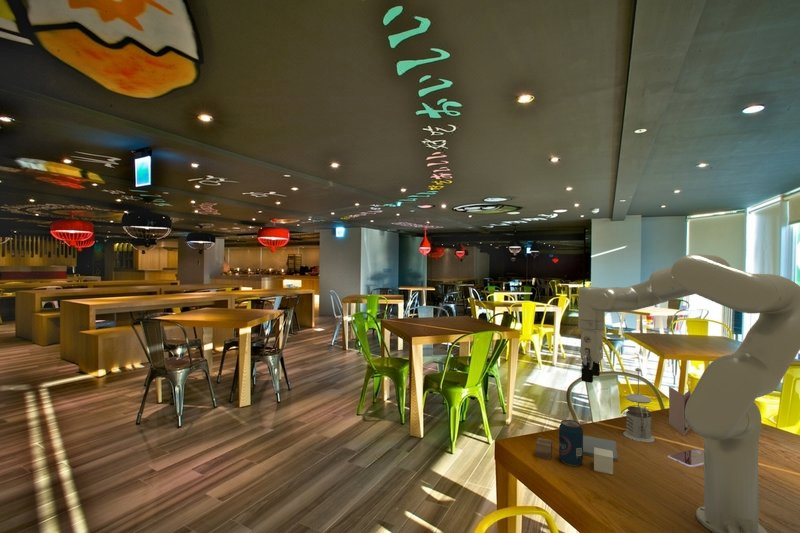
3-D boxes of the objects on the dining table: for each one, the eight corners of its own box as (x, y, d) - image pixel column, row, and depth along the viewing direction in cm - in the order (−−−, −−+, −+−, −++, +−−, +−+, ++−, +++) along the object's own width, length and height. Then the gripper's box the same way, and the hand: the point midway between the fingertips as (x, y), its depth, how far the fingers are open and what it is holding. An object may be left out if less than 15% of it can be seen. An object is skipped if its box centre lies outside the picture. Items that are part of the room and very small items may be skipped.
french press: (648, 432, 141) (648, 365, 141) (661, 446, 130) (660, 373, 130) (619, 429, 143) (619, 363, 144) (629, 442, 132) (629, 371, 133)
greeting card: (686, 436, 137) (686, 395, 138) (662, 430, 143) (662, 390, 143) (693, 428, 145) (693, 389, 145) (670, 422, 151) (670, 385, 151)
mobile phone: (665, 454, 122) (696, 447, 127) (665, 457, 122) (696, 450, 127) (690, 465, 115) (721, 457, 120) (690, 468, 115) (721, 461, 120)
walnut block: (550, 460, 119) (550, 446, 119) (535, 457, 121) (535, 443, 121) (552, 454, 123) (552, 440, 123) (537, 451, 125) (537, 437, 125)
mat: (617, 461, 118) (617, 458, 118) (569, 451, 125) (568, 448, 125) (615, 444, 130) (615, 441, 130) (571, 435, 137) (571, 433, 137)
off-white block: (613, 474, 110) (613, 457, 110) (594, 470, 113) (594, 453, 113) (612, 467, 115) (612, 450, 115) (594, 463, 117) (594, 447, 117)
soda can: (554, 457, 120) (554, 420, 121) (571, 454, 122) (571, 417, 123) (570, 468, 114) (570, 428, 114) (588, 465, 116) (588, 426, 116)
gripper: (598, 329, 112) (597, 387, 111) (609, 323, 125) (608, 375, 125) (571, 326, 116) (571, 382, 116) (584, 321, 130) (584, 371, 129)
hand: (590, 378), depth 120 cm, fingers open, 9 cm apart
